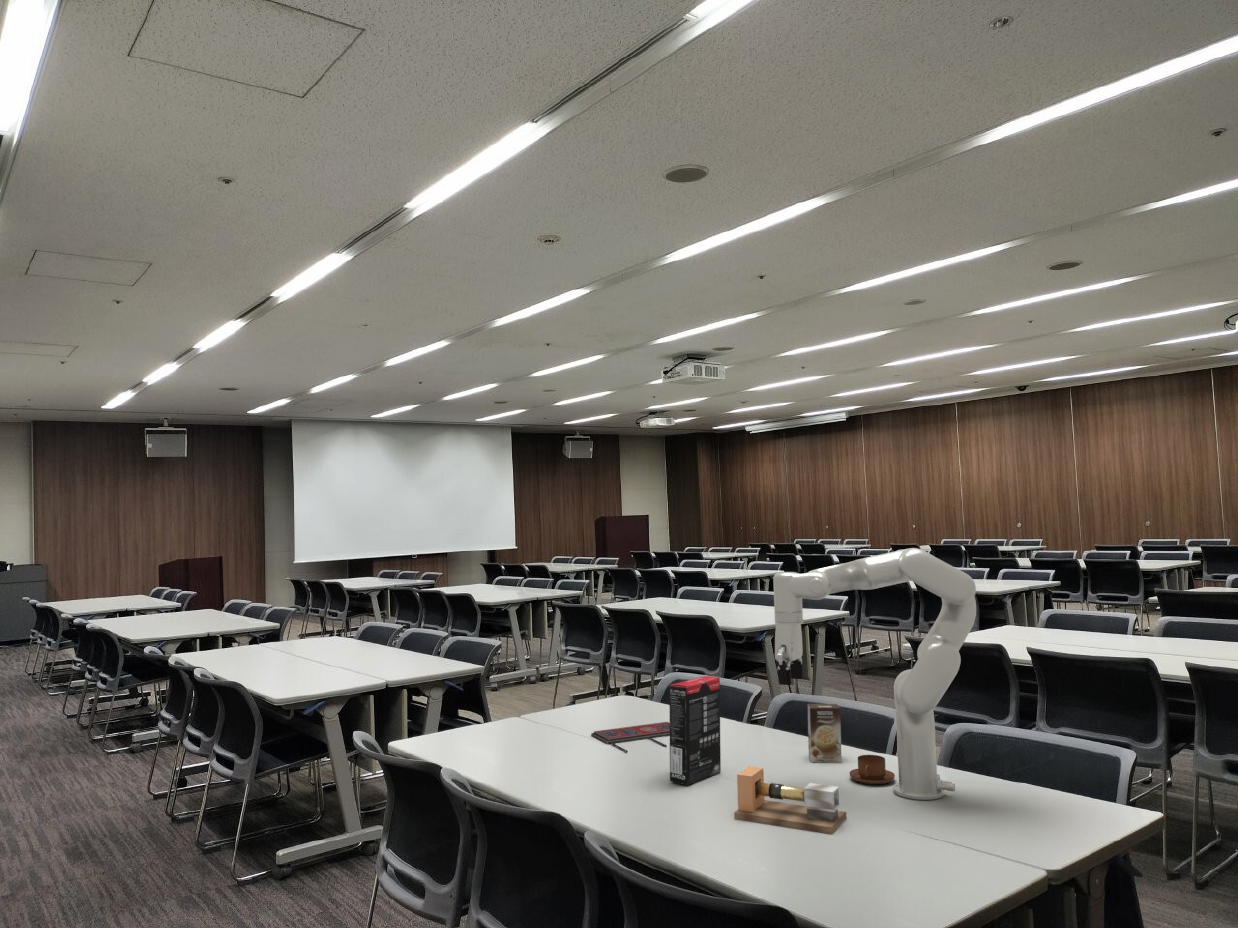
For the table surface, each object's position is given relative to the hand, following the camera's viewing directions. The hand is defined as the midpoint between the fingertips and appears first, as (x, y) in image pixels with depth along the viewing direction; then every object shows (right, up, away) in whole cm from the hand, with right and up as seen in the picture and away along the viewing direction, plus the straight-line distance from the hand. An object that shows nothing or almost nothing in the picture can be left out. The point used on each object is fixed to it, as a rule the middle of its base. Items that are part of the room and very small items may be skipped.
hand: (791, 681), depth 235 cm
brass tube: (-7, -23, -24) cm, 34 cm away
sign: (-37, -34, +56) cm, 76 cm away
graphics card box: (-25, -30, +10) cm, 40 cm away
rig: (-5, -27, -25) cm, 37 cm away
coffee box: (+15, -30, +25) cm, 42 cm away
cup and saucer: (+23, -29, +4) cm, 37 cm away
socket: (-14, -26, -20) cm, 35 cm away
